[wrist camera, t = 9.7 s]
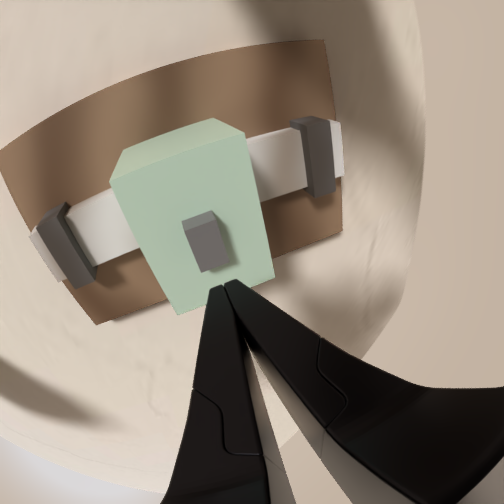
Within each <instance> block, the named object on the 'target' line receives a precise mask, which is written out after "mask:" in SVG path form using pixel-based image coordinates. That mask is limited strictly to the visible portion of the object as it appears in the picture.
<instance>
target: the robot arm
mask: <svg viewBox="0 0 504 504" xmlns="http://www.w3.org/2000/svg"><path fill="white" fill-rule="evenodd" d="M247 344H248V345H247ZM248 346H249V348H248ZM249 349H250V350H249ZM250 351H251V352H252V354H253V356H254V358H255V359H256V361H257V363H258V364H259V366H260V368H261V369H262V371H263V373H264V374H265V376H266V377H267V379H268V381H269V382H270V384H271V385H272V387H273V389H274V390H275V392H276V393H277V395H278V397H279V398H280V400H281V401H282V403H283V404H284V406H285V407H286V409H287V411H288V412H289V414H290V415H291V417H292V418H293V420H294V421H295V423H296V424H297V426H298V427H299V429H300V430H301V432H302V433H303V435H304V436H305V438H306V439H307V440H308V442H309V444H310V445H311V447H312V448H313V449H314V451H315V452H316V454H317V455H318V457H319V458H320V459H321V461H322V462H323V464H324V465H325V467H326V468H327V469H328V471H329V472H330V474H331V475H332V476H333V478H334V479H335V481H336V482H337V483H338V484H339V486H340V487H341V489H342V490H343V491H344V493H345V494H346V495H347V496H348V498H349V499H350V501H351V502H352V503H353V504H504V386H503V387H497V388H431V387H424V386H420V385H416V384H413V383H411V382H408V381H405V380H404V379H401V378H399V377H397V376H395V375H392V374H390V373H388V372H386V371H383V370H381V369H379V368H377V367H375V366H372V365H370V364H368V363H366V362H364V361H362V360H360V359H358V358H356V357H354V356H352V355H350V354H349V353H347V352H345V351H344V350H342V349H340V348H339V347H337V346H335V345H334V344H332V343H331V342H329V341H328V340H326V339H325V338H323V337H322V338H321V337H320V335H318V334H317V333H315V332H314V331H312V330H311V329H309V328H308V327H306V326H305V325H303V324H302V323H300V322H299V321H297V320H296V319H294V318H293V317H291V316H290V315H288V314H287V313H286V312H284V311H283V310H281V309H280V308H278V307H277V306H275V305H274V304H272V303H271V302H269V301H268V300H267V299H265V298H264V297H262V296H261V295H259V294H258V293H256V292H255V291H254V290H252V289H251V288H249V287H248V286H246V285H245V284H244V283H242V282H241V281H239V280H238V279H233V280H231V281H228V282H225V283H224V286H223V285H222V284H220V285H218V286H215V287H212V288H210V290H209V293H208V299H207V304H206V309H205V315H204V321H203V326H202V332H201V338H200V343H199V349H198V355H197V361H196V368H195V374H194V380H193V390H192V392H191V399H190V405H189V410H188V416H187V421H186V425H185V429H184V433H183V437H182V441H181V445H180V448H179V452H178V455H177V459H176V463H175V466H174V470H173V474H172V477H171V481H170V484H169V487H168V490H167V492H166V494H165V496H164V498H163V500H162V502H161V503H160V504H296V502H295V499H294V496H293V493H292V489H291V486H290V484H289V480H288V477H287V474H286V471H285V468H284V465H283V461H282V458H281V455H280V452H279V449H278V445H277V442H276V439H275V436H274V432H273V429H272V426H271V422H270V419H269V416H268V412H267V409H266V405H265V402H264V399H263V395H262V392H261V388H260V385H259V381H258V378H257V374H256V371H255V367H254V364H253V360H252V356H251V353H250Z"/></svg>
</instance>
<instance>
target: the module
mask: <svg viewBox="0 0 504 504" xmlns="http://www.w3.org/2000/svg"><path fill="white" fill-rule="evenodd" d="M109 183H110V185H111V187H112V190H113V192H114V194H115V197H116V199H117V201H118V203H119V205H120V208H121V210H122V212H123V214H124V216H125V218H126V220H127V222H128V225H129V227H130V229H131V231H132V233H133V235H134V237H135V239H136V241H137V243H138V245H139V247H140V249H141V251H142V253H143V255H144V256H145V258H146V260H147V262H148V264H149V266H150V268H151V270H152V271H153V273H154V275H155V277H156V279H157V281H158V282H159V284H160V286H161V288H162V290H163V291H164V293H165V295H166V297H167V298H168V300H169V302H170V303H171V305H172V307H173V309H174V310H175V312H176V314H177V315H180V314H183V313H186V312H188V311H191V310H194V309H196V308H199V307H202V306H204V305H206V304H207V299H208V293H209V290H210V288H212V287H215V286H218V285H220V284H222V285H223V286H224V283H225V282H228V281H231V280H233V279H238V280H239V281H241V282H242V283H244V284H245V285H246V286H248V287H249V288H251V287H253V286H256V285H258V284H261V283H263V282H266V281H268V280H271V279H273V278H275V273H274V268H273V263H272V259H271V254H270V249H269V244H268V239H267V234H266V229H265V225H264V220H263V215H262V211H261V206H260V201H259V196H258V192H257V187H256V183H255V178H254V173H253V169H252V164H251V160H250V155H249V151H248V146H247V142H246V138H245V133H244V132H242V131H240V130H238V129H236V128H234V127H232V126H230V125H228V124H226V123H224V122H221V121H219V120H217V119H215V118H210V119H207V120H204V121H200V122H197V123H194V124H191V125H188V126H185V127H182V128H179V129H176V130H173V131H170V132H167V133H165V134H162V135H159V136H156V137H154V138H151V139H149V140H146V141H143V142H141V143H138V144H136V145H134V146H131V147H129V148H126V149H124V150H123V151H122V153H121V156H120V158H119V160H118V162H117V164H116V167H115V169H114V171H113V173H112V176H111V178H110V181H109Z"/></svg>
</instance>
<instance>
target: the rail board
mask: <svg viewBox="0 0 504 504" xmlns="http://www.w3.org/2000/svg"><path fill="white" fill-rule="evenodd" d="M210 118H215V119H217V120H219V121H221V122H224V123H226V124H228V125H230V126H232V127H234V128H236V129H238V130H240V131H242V132H244V133H245V138H246V142H247V146H248V151H249V155H250V160H251V164H252V169H253V173H254V178H255V183H256V187H257V192H258V196H259V201H260V206H261V211H262V215H263V220H264V225H265V229H266V234H267V239H268V244H269V249H270V254H271V259H273V258H275V257H278V256H281V255H283V254H286V253H288V252H291V251H293V250H296V249H298V248H301V247H303V246H306V245H308V244H311V243H313V242H316V241H318V240H321V239H323V238H326V237H328V236H331V235H333V234H336V233H338V232H341V231H343V229H342V194H341V176H343V175H344V159H343V145H342V133H341V123H340V122H337V121H336V117H335V108H334V100H333V93H332V86H331V79H330V72H329V66H328V60H327V55H326V49H325V44H324V40H304V41H289V42H278V43H269V44H261V45H254V46H248V47H242V48H236V49H230V50H225V51H220V52H216V53H211V54H207V55H202V56H198V57H194V58H191V59H187V60H183V61H180V62H176V63H173V64H169V65H166V66H163V67H160V68H157V69H154V70H151V71H148V72H145V73H142V74H140V75H137V76H134V77H132V78H129V79H126V80H124V81H121V82H119V83H117V84H114V85H112V86H110V87H107V88H105V89H103V90H101V91H98V92H96V93H94V94H92V95H90V96H88V97H86V98H84V99H82V100H80V101H78V102H76V103H74V104H72V105H70V106H68V107H66V108H65V109H63V110H61V111H59V112H57V113H56V114H54V115H52V116H50V117H49V118H47V119H45V120H44V121H42V122H41V123H39V124H37V125H36V126H34V127H33V128H31V129H30V130H28V131H27V132H25V133H24V134H22V135H21V136H19V137H18V138H16V139H15V140H13V141H12V142H11V143H9V144H8V145H7V146H5V147H4V148H3V149H1V150H0V172H1V174H2V176H3V178H4V181H5V183H6V185H7V187H8V189H9V192H10V194H11V196H12V198H13V200H14V202H15V204H16V206H17V208H18V210H19V212H20V214H21V215H22V217H23V219H24V221H25V223H26V225H27V226H28V228H29V230H30V232H31V234H30V235H29V238H30V240H31V241H32V243H33V245H34V246H35V248H36V250H37V251H38V253H39V254H40V256H41V257H42V259H43V261H44V262H45V264H46V265H47V267H48V268H49V270H50V271H51V272H52V274H53V275H54V277H55V278H56V280H57V281H58V282H61V281H62V282H63V283H64V284H65V286H66V287H67V289H68V290H69V291H70V293H71V294H72V295H73V297H74V298H75V299H76V301H77V302H78V303H79V305H80V306H81V307H82V308H83V310H84V311H85V312H86V313H87V315H88V316H89V317H90V318H91V320H92V321H93V322H94V323H95V324H96V325H98V324H101V323H104V322H107V321H109V320H112V319H115V318H118V317H120V316H123V315H126V314H128V313H131V312H134V311H137V310H139V309H142V308H145V307H147V306H150V305H153V304H155V303H158V302H161V301H163V300H166V299H168V298H167V297H166V295H165V293H164V291H163V290H162V288H161V286H160V284H159V282H158V281H157V279H156V277H155V275H154V273H153V271H152V270H151V268H150V266H149V264H148V262H147V260H146V258H145V256H144V255H143V253H142V251H141V249H140V247H139V245H138V243H137V241H136V239H135V237H134V235H133V233H132V231H131V229H130V227H129V225H128V222H127V220H126V218H125V216H124V214H123V212H122V210H121V208H120V205H119V203H118V201H117V199H116V197H115V194H114V192H113V190H112V187H111V185H110V183H109V181H110V178H111V176H112V173H113V171H114V169H115V167H116V164H117V162H118V160H119V158H120V156H121V153H122V151H123V150H124V149H126V148H129V147H131V146H134V145H136V144H138V143H141V142H143V141H146V140H149V139H151V138H154V137H156V136H159V135H162V134H165V133H167V132H170V131H173V130H176V129H179V128H182V127H185V126H188V125H191V124H194V123H197V122H200V121H204V120H207V119H210Z"/></svg>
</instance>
